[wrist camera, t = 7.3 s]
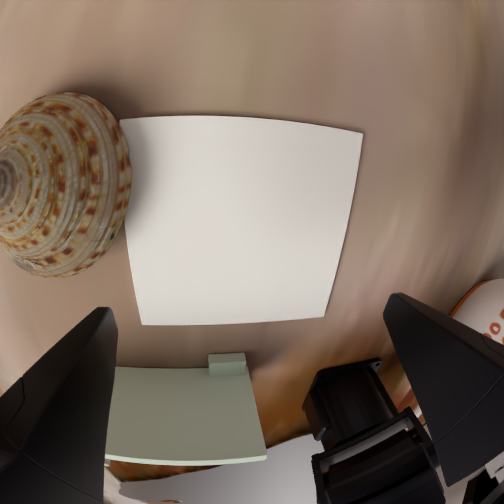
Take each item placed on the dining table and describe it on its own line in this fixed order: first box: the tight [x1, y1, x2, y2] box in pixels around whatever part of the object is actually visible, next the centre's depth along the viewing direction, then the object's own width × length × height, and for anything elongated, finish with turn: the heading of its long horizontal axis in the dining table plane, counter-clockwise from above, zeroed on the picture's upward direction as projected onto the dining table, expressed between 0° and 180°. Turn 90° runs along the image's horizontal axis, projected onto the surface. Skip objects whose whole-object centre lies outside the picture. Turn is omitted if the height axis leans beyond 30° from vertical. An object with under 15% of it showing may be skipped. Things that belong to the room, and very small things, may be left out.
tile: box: [120, 116, 363, 325], centre depth 13 cm, size 11×11×1 cm
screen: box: [105, 353, 267, 465], centre depth 14 cm, size 14×4×7 cm, turn 86°
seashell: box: [0, 92, 132, 278], centre depth 9 cm, size 8×6×8 cm
